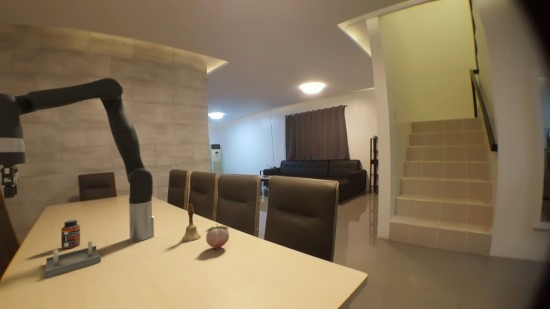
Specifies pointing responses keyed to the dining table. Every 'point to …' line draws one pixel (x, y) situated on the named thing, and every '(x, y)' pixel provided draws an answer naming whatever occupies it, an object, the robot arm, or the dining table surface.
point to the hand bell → (191, 227)
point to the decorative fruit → (217, 236)
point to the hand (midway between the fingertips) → (11, 196)
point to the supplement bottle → (70, 234)
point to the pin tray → (71, 260)
